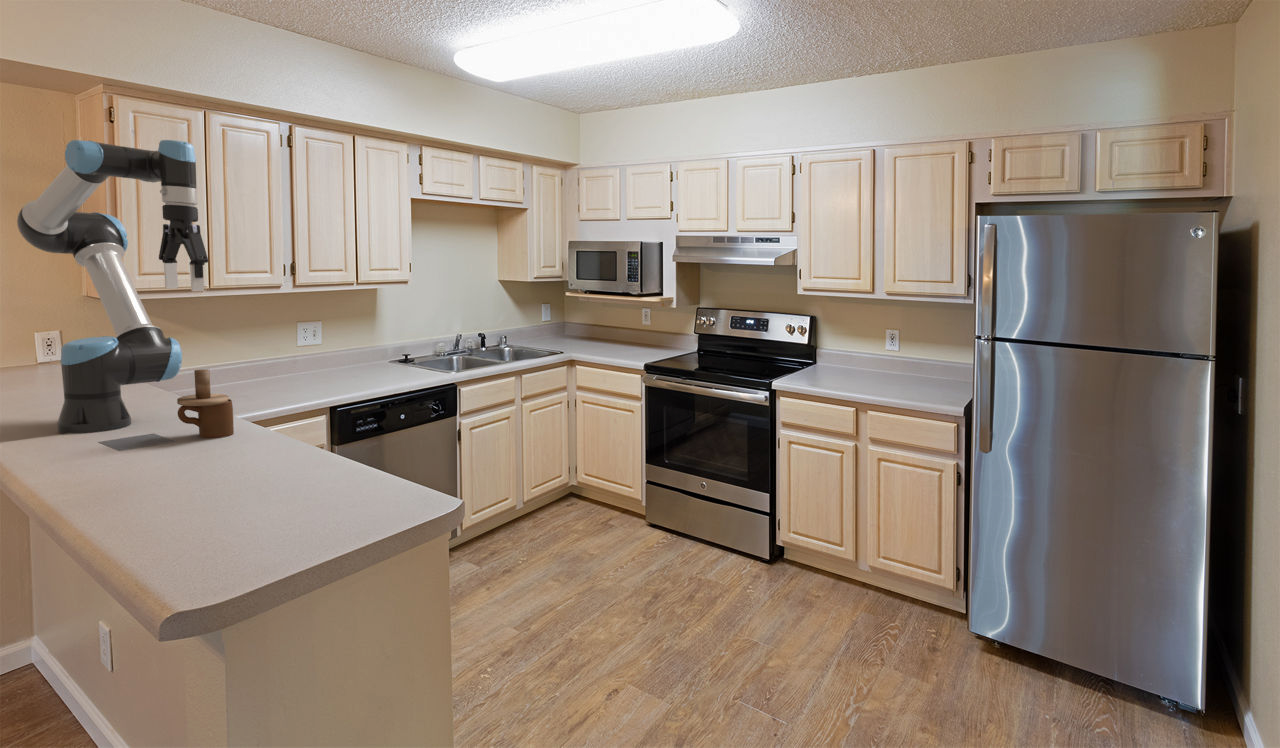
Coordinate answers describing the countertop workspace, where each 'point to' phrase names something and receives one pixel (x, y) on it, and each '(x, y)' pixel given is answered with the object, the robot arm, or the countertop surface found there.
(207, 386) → the lid
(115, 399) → the robot arm
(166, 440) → the mat
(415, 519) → the countertop surface
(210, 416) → the mug
